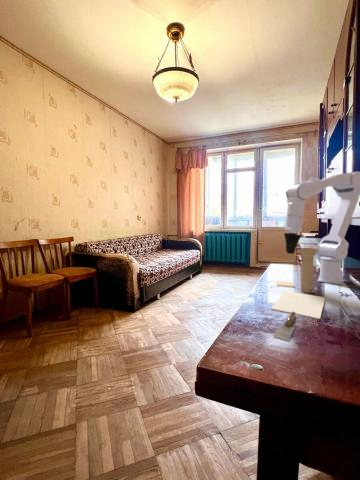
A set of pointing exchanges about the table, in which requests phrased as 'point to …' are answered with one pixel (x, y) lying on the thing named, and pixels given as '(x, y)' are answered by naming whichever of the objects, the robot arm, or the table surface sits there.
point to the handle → (307, 269)
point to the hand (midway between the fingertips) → (289, 252)
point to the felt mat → (300, 304)
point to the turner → (285, 329)
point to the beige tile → (285, 284)
